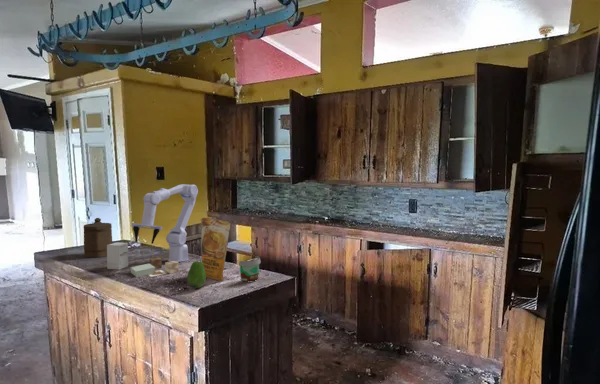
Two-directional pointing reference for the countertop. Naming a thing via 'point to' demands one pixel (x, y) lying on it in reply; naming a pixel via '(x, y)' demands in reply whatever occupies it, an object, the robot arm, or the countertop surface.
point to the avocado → (196, 275)
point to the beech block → (171, 267)
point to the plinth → (143, 270)
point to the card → (158, 273)
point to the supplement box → (117, 255)
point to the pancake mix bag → (214, 246)
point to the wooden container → (97, 238)
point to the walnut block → (156, 262)
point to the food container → (249, 269)
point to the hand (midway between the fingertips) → (144, 242)
